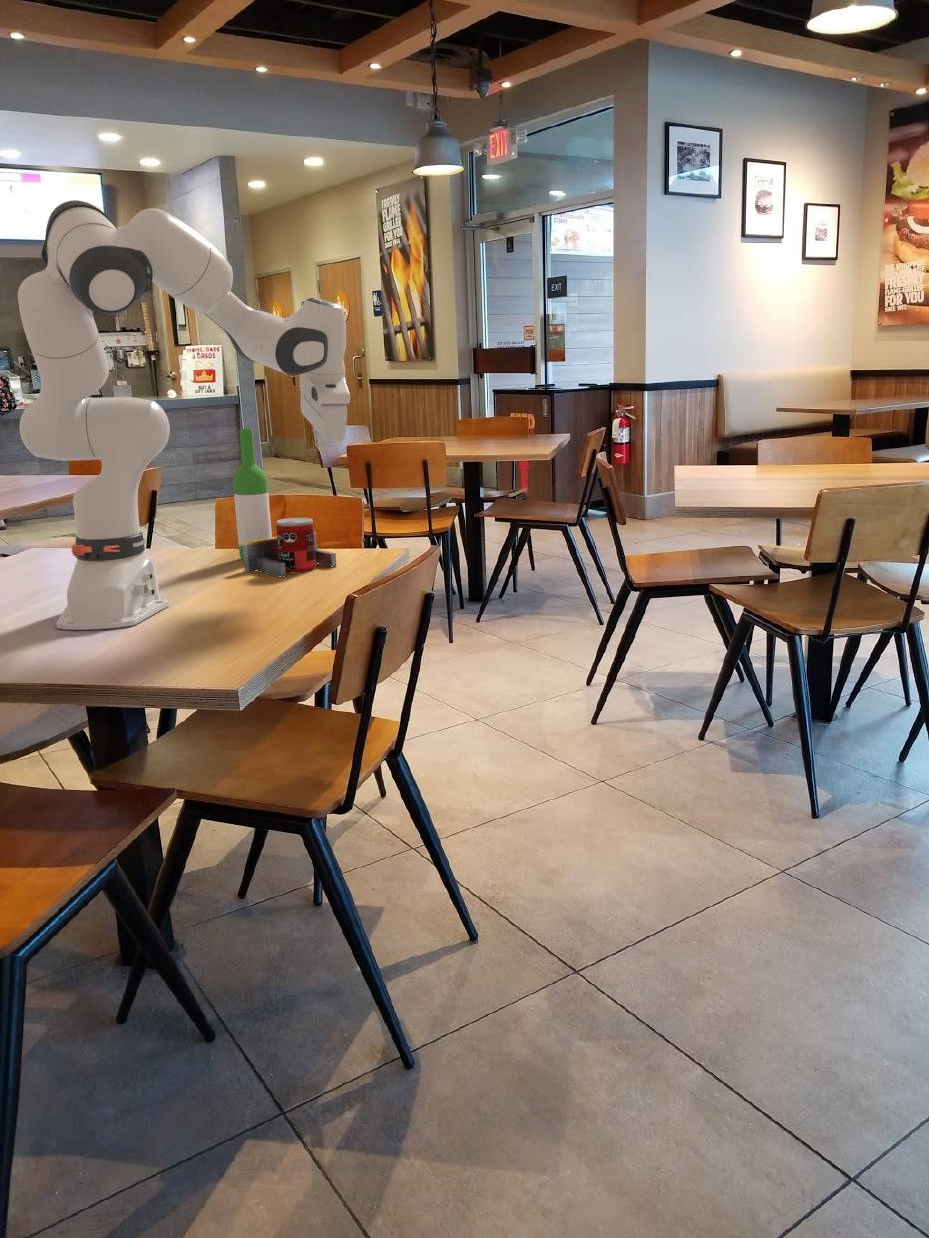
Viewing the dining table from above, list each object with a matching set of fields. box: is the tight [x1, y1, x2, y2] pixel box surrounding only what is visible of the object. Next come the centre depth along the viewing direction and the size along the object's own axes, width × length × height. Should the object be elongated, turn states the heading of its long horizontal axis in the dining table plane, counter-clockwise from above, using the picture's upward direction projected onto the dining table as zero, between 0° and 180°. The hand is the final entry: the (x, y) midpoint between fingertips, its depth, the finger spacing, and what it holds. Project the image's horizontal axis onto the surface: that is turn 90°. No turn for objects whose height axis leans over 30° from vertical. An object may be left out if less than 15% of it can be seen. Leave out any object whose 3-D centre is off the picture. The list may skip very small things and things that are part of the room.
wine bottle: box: [232, 428, 273, 561], centre depth 220 cm, size 8×8×30 cm
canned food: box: [275, 517, 317, 573], centre depth 210 cm, size 8×8×11 cm
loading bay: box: [242, 531, 337, 578], centre depth 212 cm, size 12×18×6 cm, turn 133°
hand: (320, 449), depth 197 cm, fingers closed
